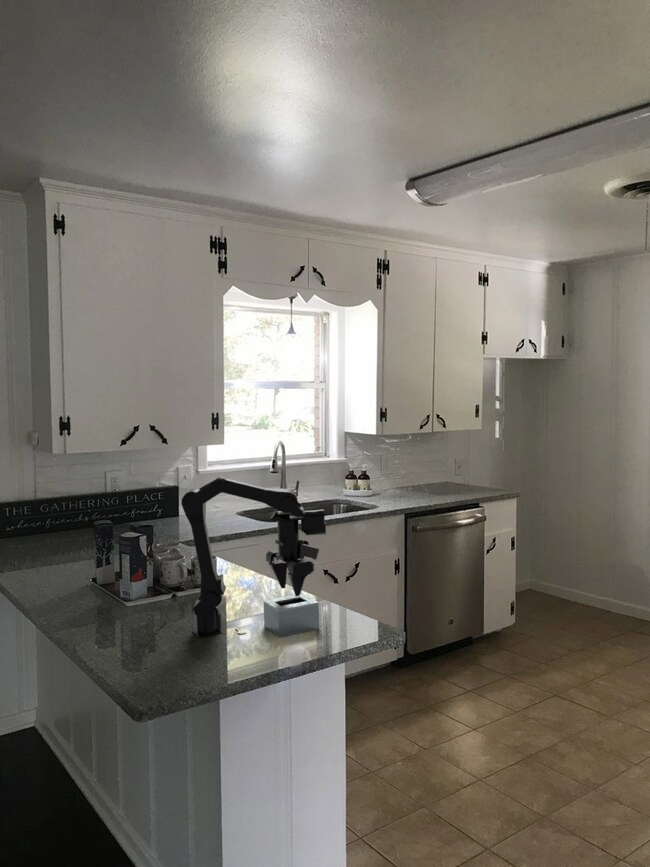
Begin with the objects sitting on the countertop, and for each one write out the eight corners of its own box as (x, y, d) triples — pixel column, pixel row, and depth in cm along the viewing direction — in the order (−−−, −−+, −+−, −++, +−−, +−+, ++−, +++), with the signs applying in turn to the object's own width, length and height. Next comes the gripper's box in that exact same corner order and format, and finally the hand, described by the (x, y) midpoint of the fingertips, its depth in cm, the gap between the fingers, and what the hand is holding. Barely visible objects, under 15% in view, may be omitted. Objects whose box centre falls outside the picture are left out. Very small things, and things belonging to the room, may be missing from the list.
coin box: (279, 637, 195) (278, 610, 195) (264, 626, 204) (263, 600, 203) (319, 628, 201) (318, 602, 200) (303, 618, 210) (302, 593, 209)
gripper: (330, 538, 196) (332, 595, 197) (299, 526, 212) (301, 579, 214) (293, 543, 191) (295, 602, 192) (264, 531, 207) (266, 586, 208)
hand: (290, 592), depth 202 cm, fingers open, 9 cm apart
